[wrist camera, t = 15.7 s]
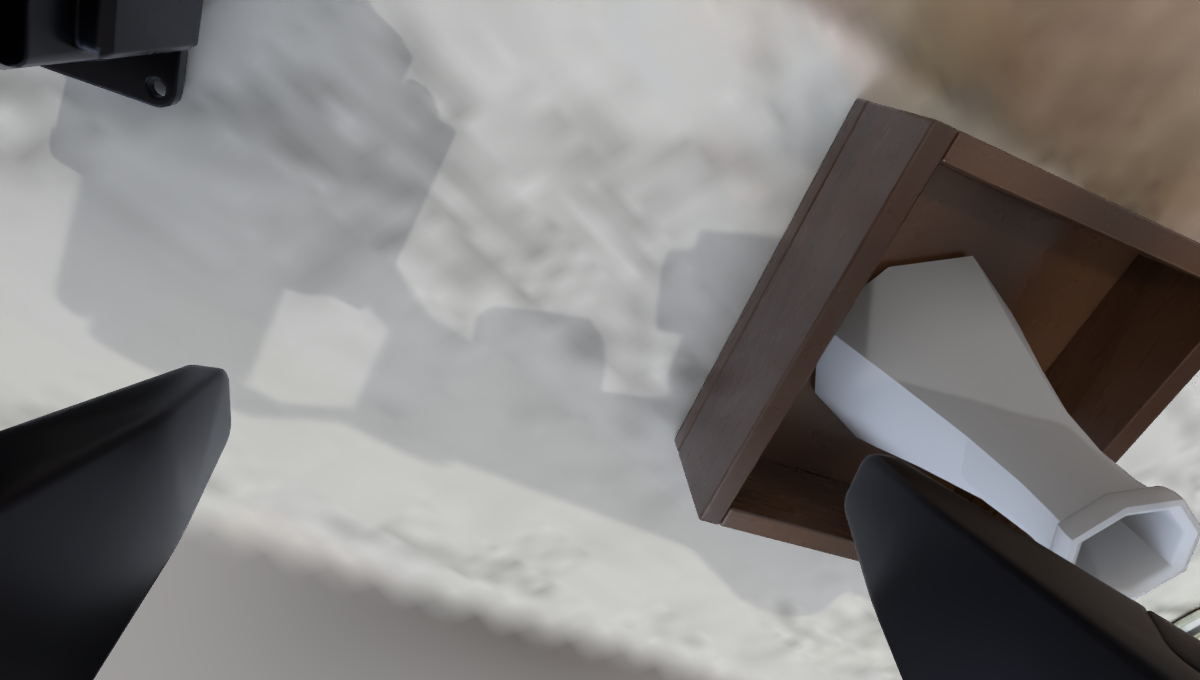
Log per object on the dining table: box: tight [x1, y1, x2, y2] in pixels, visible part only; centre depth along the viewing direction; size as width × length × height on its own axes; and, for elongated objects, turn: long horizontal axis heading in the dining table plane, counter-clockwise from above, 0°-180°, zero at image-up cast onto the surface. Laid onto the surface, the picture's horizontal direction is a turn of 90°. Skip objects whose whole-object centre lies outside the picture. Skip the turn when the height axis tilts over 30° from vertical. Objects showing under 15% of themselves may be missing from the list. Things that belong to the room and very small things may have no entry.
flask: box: [815, 256, 1200, 600], centre depth 19 cm, size 7×7×10 cm
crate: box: [675, 99, 1200, 561], centre depth 22 cm, size 13×14×4 cm
